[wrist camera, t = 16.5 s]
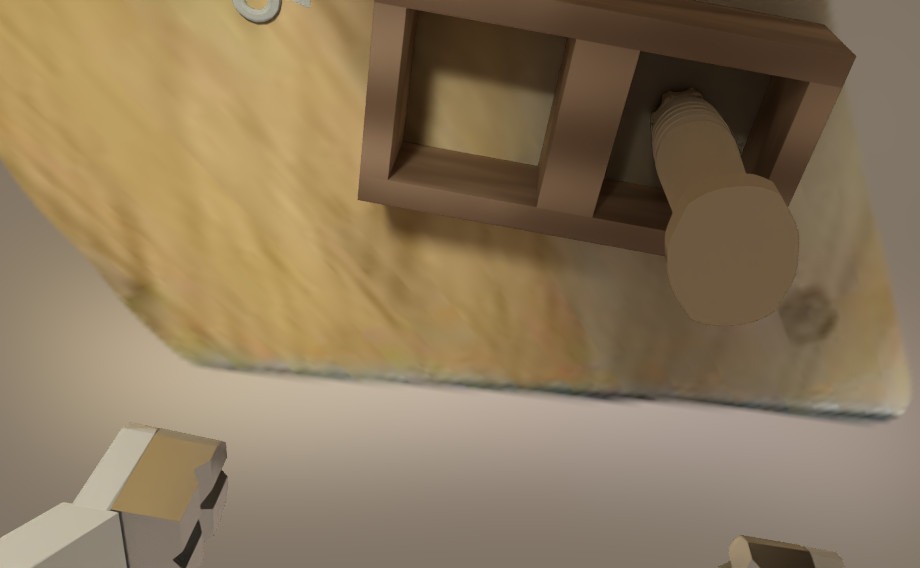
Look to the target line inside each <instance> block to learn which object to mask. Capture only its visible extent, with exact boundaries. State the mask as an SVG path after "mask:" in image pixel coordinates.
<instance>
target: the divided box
mask: <svg viewBox="0 0 920 568" xmlns="http://www.w3.org/2000/svg"><path fill="white" fill-rule="evenodd" d="M418 10H420V11H426V12H431V13H437V14H442V15H448V16H453V17H459V18H464V19H470V20H475V21H480V22H486V23H491V24H497V25H502V26H508V27H513V28H519V29H524V30H529V31H535V32H540V33H546V34H551V35H557V36H562V37H568V39H567V43H566V47H565V52H564V56H563V60H562V65H561V69H560V73H559V78H558V82H557V86H556V91H555V95H554V99H553V104H552V108H551V112H550V117H549V121H548V125H547V130H546V134H545V138H544V143H543V147H542V151H541V156H540V160H539V164H538V166H533V165H528V164H522V163H517V162H511V161H506V160H500V159H495V158H490V157H484V156H479V155H473V154H468V153H462V152H457V151H451V150H446V149H440V148H435V147H429V146H424V145H418V144H413V143H408V142H403V136H404V127H405V119H406V110H407V102H408V93H409V85H410V76H411V68H412V59H413V51H414V42H415V34H416V25H417V17H418ZM640 51H644V52H649V53H655V54H660V55H666V56H671V57H677V58H682V59H687V60H693V61H698V62H704V63H709V64H715V65H720V66H726V67H731V68H736V69H742V70H747V71H753V72H758V73H764V74H769V75H773V77H772V79H771V82H770V84H769V87H768V89H767V92H766V94H765V97H764V99H763V102H762V104H761V107H760V109H759V112H758V115H757V117H756V120H755V122H754V125H753V127H752V130H751V132H750V135H749V137H748V140H747V142H746V145H745V147H744V150H743V152H742V155H741V159H742V162H743V166H744V169H745V172H746V174H754V175H758V176H761V177H764V178H766V179H768V180H770V181H772V182H773V183H774V184H775V186H776V188H777V189H778V191H779V193H780V195H781V196H782V198H783V200H784V202H785V204H786V206H787V207H788V206H789V204H790V201H791V199H792V197H793V195H794V193H795V190H796V188H797V186H798V184H799V182H800V179H801V177H802V175H803V173H804V171H805V168H806V166H807V164H808V162H809V160H810V157H811V155H812V153H813V151H814V149H815V146H816V144H817V142H818V140H819V137H820V135H821V133H822V131H823V129H824V126H825V124H826V122H827V120H828V118H829V115H830V113H831V111H832V109H833V107H834V104H835V102H836V100H837V98H838V96H839V93H840V91H841V89H842V87H843V84H844V82H845V80H846V78H847V76H848V73H849V71H850V69H851V67H852V65H853V62H854V60H855V58H856V55H855V54H853V53H852V52H851V51H850V50H849V49H848V48H847V47H846V46H845V45H844V44H843V43H842V42H841V41H840V40H839V39H838V38H837V37H836V36H835V35H834V34H833V33H832V32H831V31H830V30H829V29H828V28H827V27H826V26H825V25H822V24H817V23H812V22H806V21H801V20H795V19H790V18H784V17H779V16H773V15H768V14H763V13H757V12H752V11H746V10H741V9H735V8H730V7H725V6H719V5H714V4H708V3H703V2H697V1H692V0H375V1H374V13H373V25H372V37H371V49H370V60H369V72H368V84H367V96H366V108H365V119H364V131H363V143H362V155H361V166H360V178H359V190H358V200H361V201H367V202H372V203H377V204H383V205H388V206H394V207H399V208H405V209H410V210H416V211H421V212H427V213H432V214H438V215H443V216H449V217H454V218H460V219H465V220H471V221H476V222H482V223H487V224H492V225H498V226H503V227H509V228H514V229H520V230H525V231H531V232H536V233H542V234H547V235H553V236H558V237H564V238H569V239H575V240H580V241H586V242H591V243H597V244H602V245H607V246H613V247H618V248H624V249H629V250H635V251H640V252H646V253H651V254H657V255H662V256H665V232H666V229H667V226H668V223H669V221H670V218H671V216H672V213H673V212H672V210H671V207H670V204H669V202H668V199H667V197H666V194H665V192H664V189H659V188H654V187H648V186H643V185H637V184H632V183H626V182H621V181H615V180H610V179H604V175H605V172H606V168H607V165H608V161H609V158H610V154H611V151H612V147H613V144H614V140H615V137H616V134H617V130H618V127H619V123H620V120H621V116H622V113H623V109H624V106H625V102H626V99H627V95H628V92H629V88H630V85H631V81H632V78H633V75H634V71H635V68H636V64H637V61H638V57H639V54H640Z"/></svg>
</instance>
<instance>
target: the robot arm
mask: <svg viewBox="0 0 920 568" xmlns="http://www.w3.org/2000/svg"><path fill="white" fill-rule="evenodd" d="M226 458H227V451H226V443H225V442H223V441H219V440H214V439H209V438H205V437H200V436H195V435H191V434H186V433H181V432H176V431H172V430H166V429H162V428H161V429H160V428H156V427H151V426H146V425H141V424H136V423H131V422H130V423H128V424H127V425H126V426H125V427H124V428H122V429H121V430H120V431H119V433H118V435H117V436H116V438H115V439H114V441H113V442H112V444H111V445H110V447H109V448H108V450H107V451H106V453H105V455H104V456H103V458H102V459H101V461H100V462H99V464H98V465H97V467H96V469H95V470H94V472H93V473H92V474H91V476H90V477H89V479H88V481H87V482H86V484H85V485H84V487H83V488H82V490H81V491H80V493H79V494H78V496H77V497H76V499H75V500H74V502H73V504H71V503H64V502H62V503H61V504H59V505H57V506H55V507H54V508H52V509H51V510H49V511H47V512H45V513H43V514H41V515H40V516H38V517H36V518H34V519H33V520H31V521H29V522H27V523H26V524H24V525H22V526H20V527H19V528H17V529H15V530H13V531H12V532H10V533H8V534H6V535H5V536H3V537H1V538H0V568H200V566H201V564H202V562H203V542H205V541H206V540H208V539H209V538H211V537H212V536H214V534H215V532H216V530H217V527H218V525H219V522H220V520H221V517H222V513H223V510H224V506H225V503H226V497H227V489H228V477H227V475H226V474H225V473H224V472H223V471H222V467H223V465H224V463H225V460H226ZM728 551H729V555H730V561H728V562H727V563H724V564H722V565H720V566H718V568H845V565H844V563H843V560H842V558H841V557H840V556H839V555H838V554H837V553H836V552H832V551H826V550H821V549H816V548H810V547H802V546H800V545H796V544H790V543H785V542H779V541H773V540H767V539H761V538H755V537H749V536H743V535H740V536H738V537H736V538H735V539H734V540H733V542H732V543H731V545H730V547H729V548H728Z"/></svg>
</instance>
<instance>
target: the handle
mask: <svg viewBox="0 0 920 568" xmlns="http://www.w3.org/2000/svg"><path fill="white" fill-rule="evenodd" d="M650 127H651V132H652V149H653V157H654V162H655V166H656V170H657V174H658V177H659V179H660V182H661V184H662V187H663V189H664V192H665V194H666V197H667V199H668V202H669V204H670V207H671V210H672V212H673V213H672V216H671V218H670V221H669V223H668V226H667V229H666V232H665V261H666V270H667V275H668V279H669V282H670V286H671V289H672V291H673V293H674V295H675V297H676V298H677V300H678V301H679V303H680V305H681V306H682V308H683V309H684V310H685V312H686V313H687V315H688V316H689V318H690V319H692V320H695V321H697V322H700V323H703V324H706V325H714V326H733V325H740V324H746V323H750V322H754V321H757V320H759V319H761V318H763V317H766V316H767V315H769V314H771V313H773V312H774V310H775V309H776V307H777V306H778V304H779V303H780V302H781V300H782V299H783V297H784V295H785V294H786V292H787V291H788V289H789V287H790V286H791V284H792V282H793V279H794V277H795V275H796V270H797V264H798V250H799V233H798V229H797V226H796V223H795V221H794V219H793V217H792V215H791V213H790V211H789V209H788V207H787V206H786V204H785V202H784V200H783V198H782V196H781V195H780V193H779V191H778V189H777V188H776V186H775V184H774V183H773V182H772V181H770V180H768V179H766V178H764V177H761V176H758V175H754V174H746V172H745V169H744V166H743V162H742V159H741V156H740V153H739V150H738V147H737V144H736V141H735V139H734V137H733V135H732V133H731V131H730V129H729V127H728V126H727V124H726V123H725V121H724V120H723V118H722V117H721V115H720V114H719V112H718V111H717V110H716V109H715V108H714V107H713V106H712V105H711V104H710V103H708V102H707V101H705V100H703V98H702V95H701V93H700V92H699V91H698V90H695V89H692V88H689V89H688V90H686V91H683V92H672V91H668V92H667V93H665V94H664V95H663V99H662V102H661V104H660V106H659V108H658V109H657V111H656V112H654V113H653V114H652V116H651V120H650Z"/></svg>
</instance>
